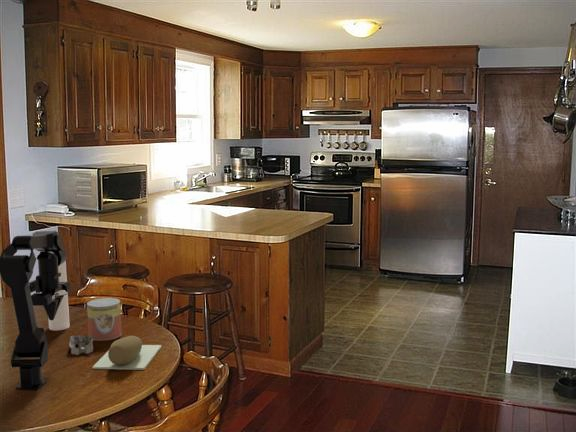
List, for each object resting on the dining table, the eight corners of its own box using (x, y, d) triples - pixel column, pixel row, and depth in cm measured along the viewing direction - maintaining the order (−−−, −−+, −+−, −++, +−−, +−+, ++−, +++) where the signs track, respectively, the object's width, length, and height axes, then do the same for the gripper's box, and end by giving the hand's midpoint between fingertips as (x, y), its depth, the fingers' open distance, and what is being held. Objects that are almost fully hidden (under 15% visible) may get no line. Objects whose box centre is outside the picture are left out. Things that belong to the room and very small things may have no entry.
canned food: (89, 342, 222) (87, 308, 220) (88, 332, 233) (86, 299, 231) (123, 338, 225) (121, 304, 224) (120, 328, 236) (119, 296, 234)
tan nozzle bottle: (99, 358, 196) (123, 343, 214) (120, 373, 195) (142, 357, 213) (113, 336, 195) (135, 323, 213) (134, 352, 194) (155, 338, 212)
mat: (144, 369, 197) (144, 367, 197) (92, 368, 198) (92, 367, 198) (161, 346, 216) (161, 345, 216) (114, 346, 218) (114, 344, 218)
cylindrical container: (48, 331, 234) (43, 263, 230) (49, 325, 241) (45, 259, 237) (69, 329, 236) (65, 261, 232) (70, 323, 243) (66, 257, 239)
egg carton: (93, 354, 211) (92, 342, 211) (69, 356, 209) (68, 344, 209) (94, 343, 222) (93, 331, 221) (71, 345, 220) (70, 333, 219)
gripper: (36, 264, 211) (39, 311, 214) (8, 278, 193) (12, 329, 195) (70, 264, 211) (73, 311, 213) (45, 278, 192) (48, 329, 194)
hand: (51, 319), depth 204 cm, fingers closed
